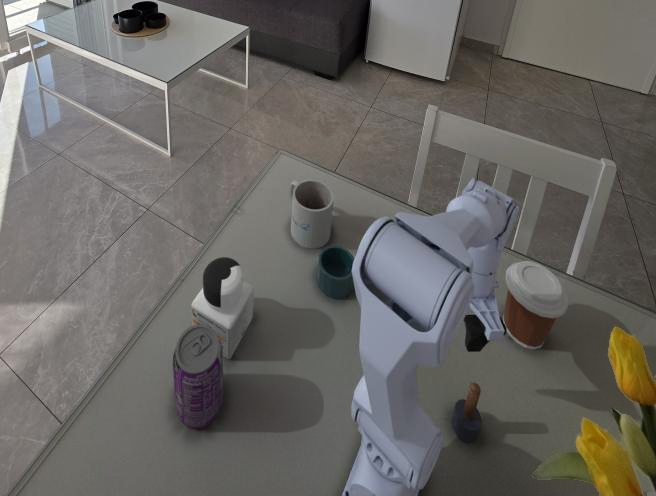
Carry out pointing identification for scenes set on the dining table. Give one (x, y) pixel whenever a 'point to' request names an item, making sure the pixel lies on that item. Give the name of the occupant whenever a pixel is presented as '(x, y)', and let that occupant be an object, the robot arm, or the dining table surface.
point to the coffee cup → (532, 303)
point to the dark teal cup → (335, 272)
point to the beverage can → (198, 376)
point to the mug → (311, 213)
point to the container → (224, 303)
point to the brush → (468, 416)
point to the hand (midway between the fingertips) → (461, 321)
